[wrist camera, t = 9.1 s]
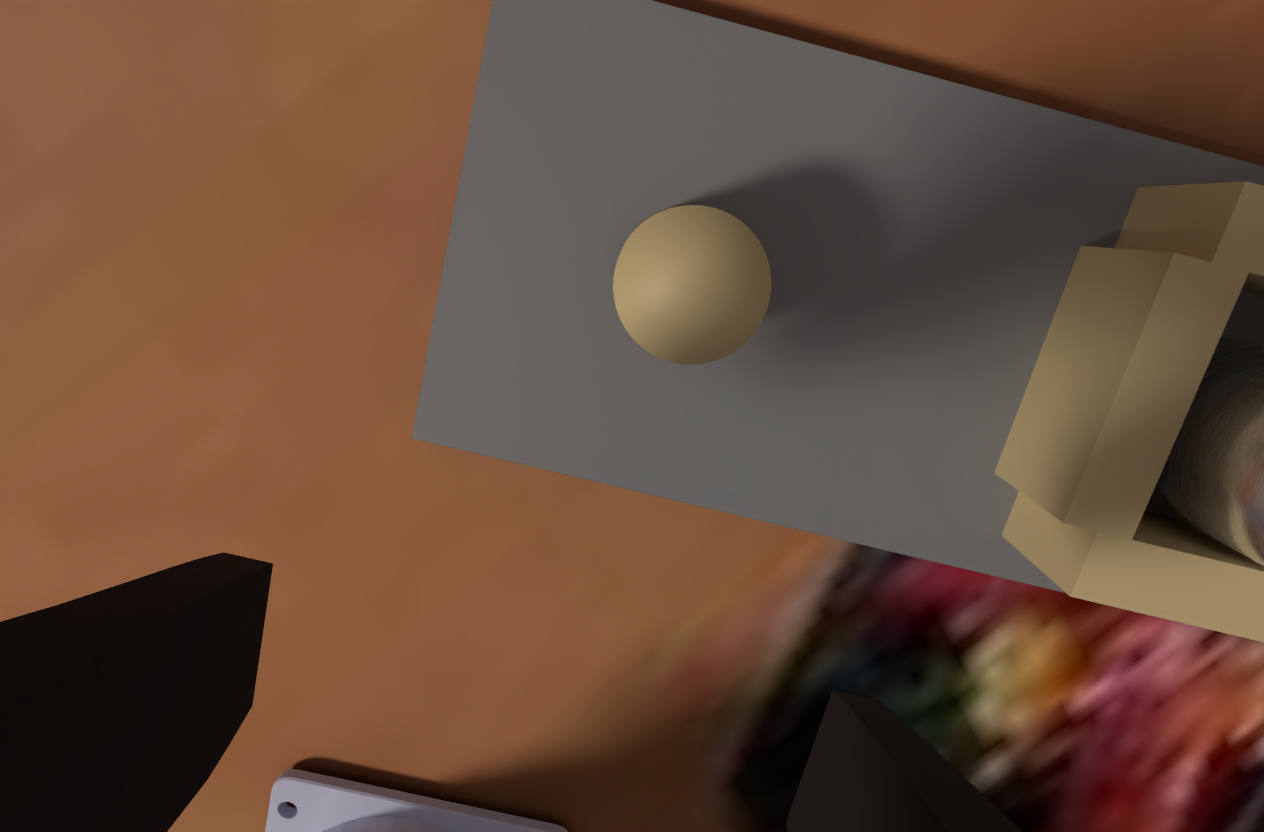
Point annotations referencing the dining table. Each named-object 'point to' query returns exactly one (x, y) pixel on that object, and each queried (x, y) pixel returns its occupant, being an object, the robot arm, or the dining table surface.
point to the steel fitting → (1222, 453)
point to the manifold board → (842, 300)
